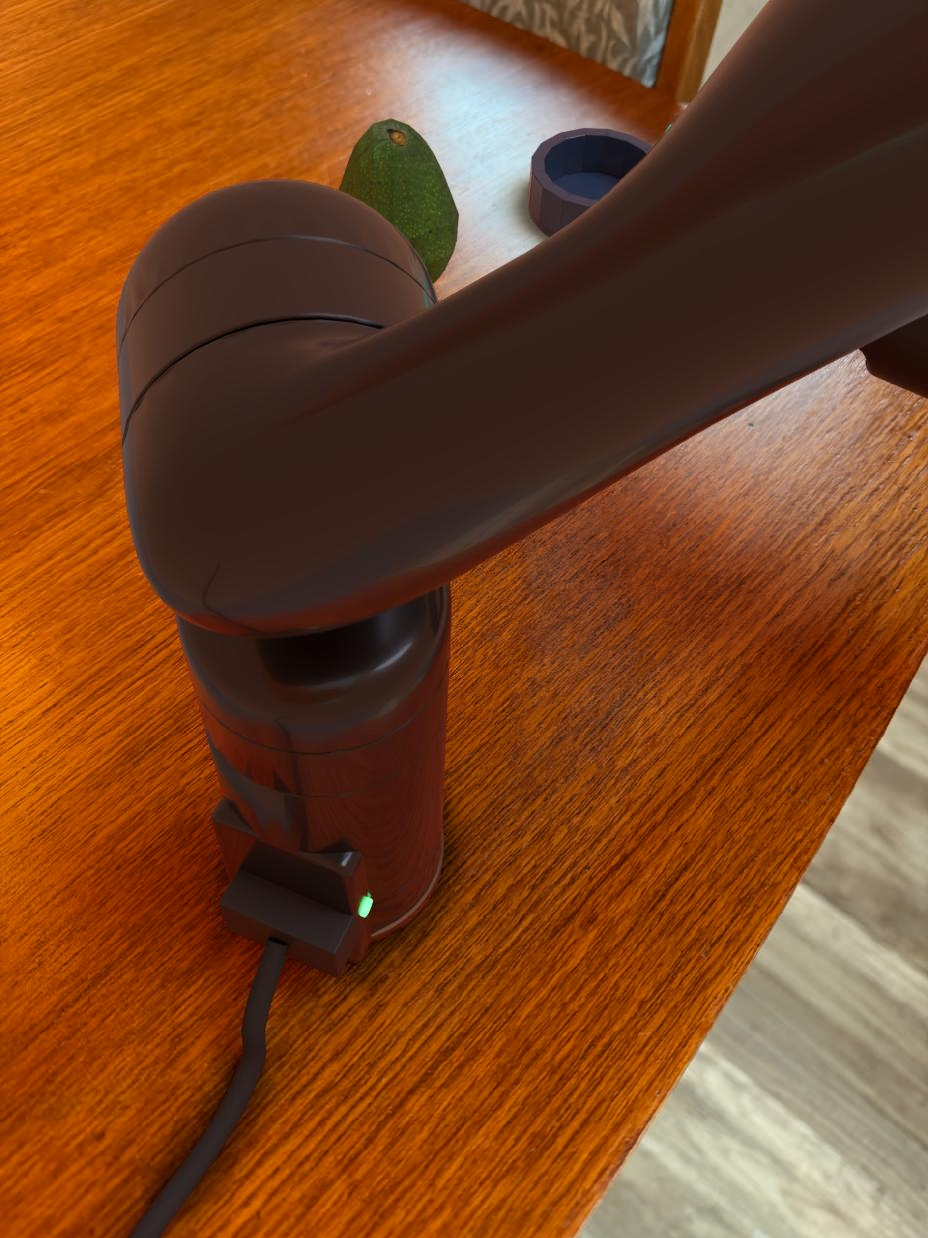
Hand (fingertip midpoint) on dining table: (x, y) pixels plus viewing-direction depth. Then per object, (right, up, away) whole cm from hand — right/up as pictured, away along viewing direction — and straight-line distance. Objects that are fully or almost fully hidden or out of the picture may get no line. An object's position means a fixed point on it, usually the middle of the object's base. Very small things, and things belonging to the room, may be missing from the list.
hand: (659, 196), depth 58 cm
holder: (0, +9, +28) cm, 30 cm away
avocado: (-14, +2, +23) cm, 27 cm away
